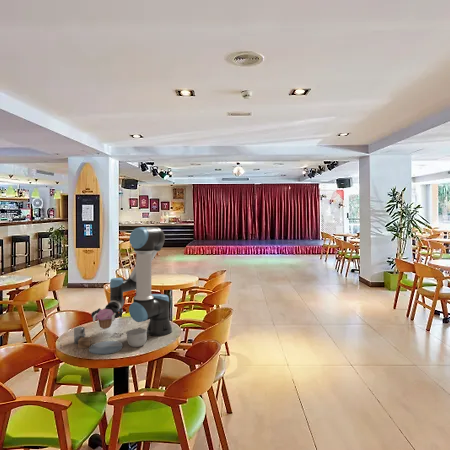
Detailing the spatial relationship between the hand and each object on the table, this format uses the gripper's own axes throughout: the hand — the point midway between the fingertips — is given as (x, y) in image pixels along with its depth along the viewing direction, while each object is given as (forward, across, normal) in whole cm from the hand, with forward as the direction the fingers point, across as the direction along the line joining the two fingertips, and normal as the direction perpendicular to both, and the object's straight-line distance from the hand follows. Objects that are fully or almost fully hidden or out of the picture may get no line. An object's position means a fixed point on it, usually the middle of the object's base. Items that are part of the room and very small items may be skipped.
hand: (103, 318), depth 191 cm
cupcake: (-5, 0, -6) cm, 8 cm away
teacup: (-10, -16, -18) cm, 26 cm away
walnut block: (-10, +12, -18) cm, 23 cm away
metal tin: (-16, +17, -18) cm, 29 cm away
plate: (-4, 0, -17) cm, 18 cm away
